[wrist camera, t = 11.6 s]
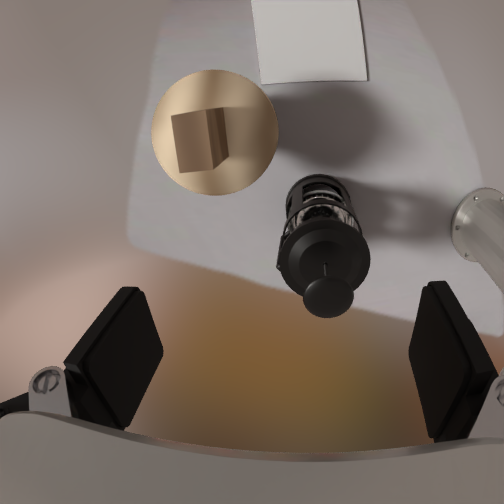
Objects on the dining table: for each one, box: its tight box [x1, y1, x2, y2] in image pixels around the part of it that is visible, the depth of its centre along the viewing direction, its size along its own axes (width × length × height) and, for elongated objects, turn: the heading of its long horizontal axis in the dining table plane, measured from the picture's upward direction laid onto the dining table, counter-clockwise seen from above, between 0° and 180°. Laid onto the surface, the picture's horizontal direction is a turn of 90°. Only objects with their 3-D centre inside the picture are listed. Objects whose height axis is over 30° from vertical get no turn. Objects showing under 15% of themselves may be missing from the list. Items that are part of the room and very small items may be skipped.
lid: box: [151, 70, 279, 195], centre depth 28 cm, size 13×13×7 cm
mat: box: [251, 0, 367, 85], centre depth 34 cm, size 14×14×1 cm
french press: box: [276, 174, 370, 318], centre depth 36 cm, size 12×9×23 cm
